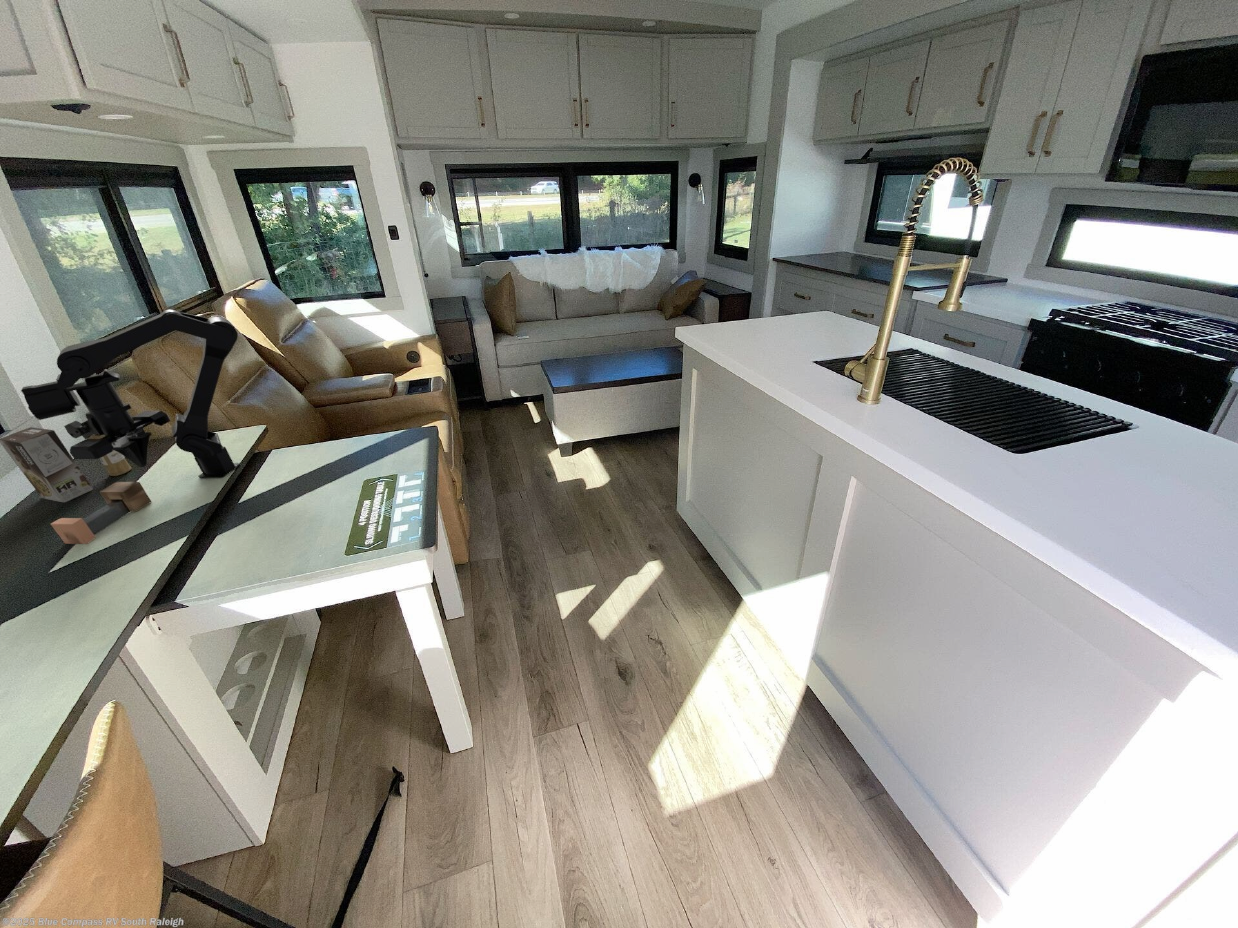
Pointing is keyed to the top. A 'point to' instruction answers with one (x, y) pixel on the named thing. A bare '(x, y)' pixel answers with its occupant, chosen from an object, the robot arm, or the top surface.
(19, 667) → the top surface
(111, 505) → the rail
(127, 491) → the block
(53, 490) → the coffee box
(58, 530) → the pink notched end block
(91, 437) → the sprinkles bottle
